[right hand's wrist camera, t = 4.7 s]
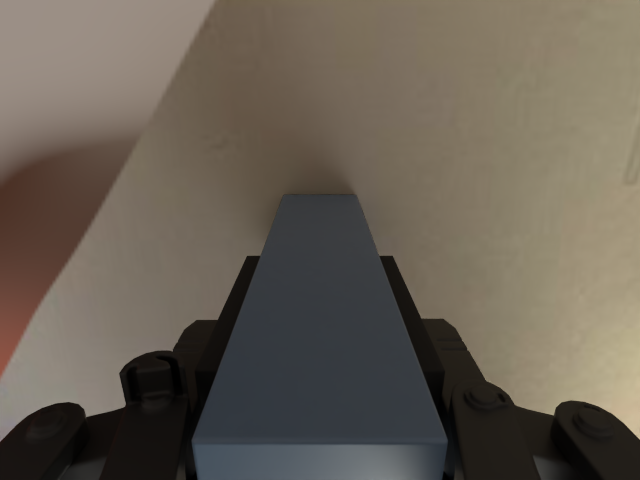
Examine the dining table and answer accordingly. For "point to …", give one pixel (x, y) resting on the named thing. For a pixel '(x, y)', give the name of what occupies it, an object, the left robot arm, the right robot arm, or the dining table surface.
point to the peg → (319, 364)
